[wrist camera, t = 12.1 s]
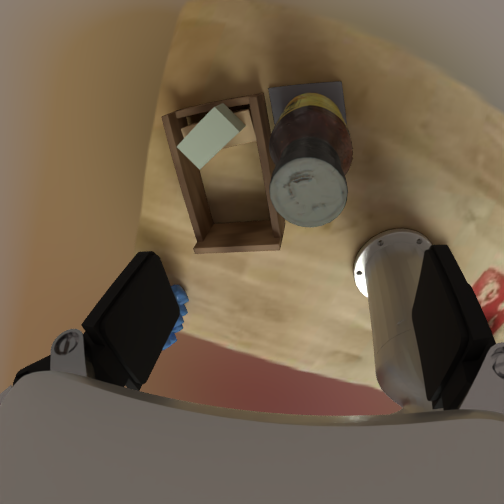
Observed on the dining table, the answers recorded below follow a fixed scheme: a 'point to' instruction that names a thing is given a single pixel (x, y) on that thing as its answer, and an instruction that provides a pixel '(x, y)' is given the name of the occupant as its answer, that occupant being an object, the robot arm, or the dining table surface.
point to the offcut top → (210, 135)
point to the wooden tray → (207, 234)
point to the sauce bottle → (310, 161)
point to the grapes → (181, 300)
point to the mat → (287, 93)
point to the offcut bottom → (242, 137)
